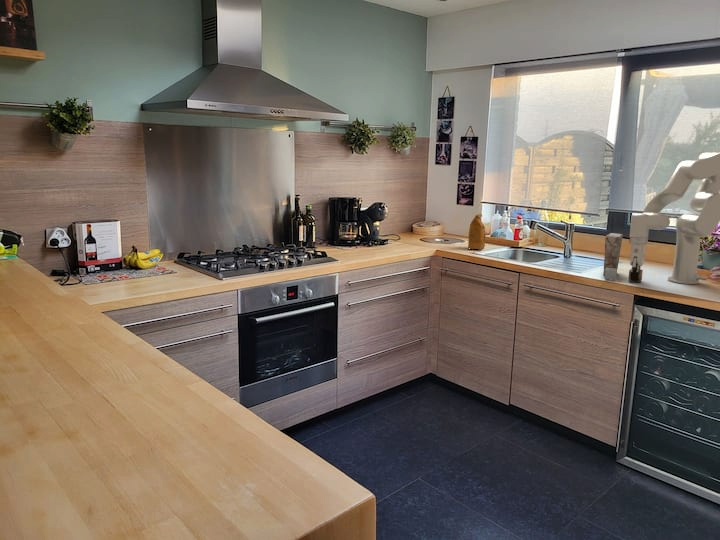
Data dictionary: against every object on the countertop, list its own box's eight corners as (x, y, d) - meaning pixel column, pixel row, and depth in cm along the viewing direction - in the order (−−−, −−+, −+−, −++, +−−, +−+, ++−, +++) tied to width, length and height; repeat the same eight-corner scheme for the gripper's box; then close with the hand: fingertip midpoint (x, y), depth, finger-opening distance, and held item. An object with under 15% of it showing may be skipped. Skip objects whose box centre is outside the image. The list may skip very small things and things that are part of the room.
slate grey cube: (615, 278, 262) (617, 268, 261) (616, 280, 257) (617, 270, 256) (604, 277, 264) (605, 267, 263) (604, 279, 259) (605, 269, 258)
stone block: (617, 277, 264) (621, 236, 260) (601, 276, 267) (605, 235, 263) (618, 272, 275) (623, 233, 272) (603, 271, 279) (607, 232, 275)
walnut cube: (641, 280, 255) (642, 269, 254) (640, 282, 251) (641, 271, 250) (629, 279, 258) (630, 268, 257) (628, 281, 254) (629, 270, 253)
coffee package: (487, 248, 348) (489, 213, 343) (481, 251, 337) (483, 215, 333) (472, 247, 353) (473, 212, 348) (465, 249, 342) (467, 214, 338)
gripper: (645, 243, 242) (641, 283, 246) (650, 238, 256) (646, 277, 260) (626, 242, 246) (623, 282, 250) (632, 237, 260) (629, 275, 264)
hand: (635, 279), depth 255 cm, fingers closed on walnut cube, 5 cm apart
